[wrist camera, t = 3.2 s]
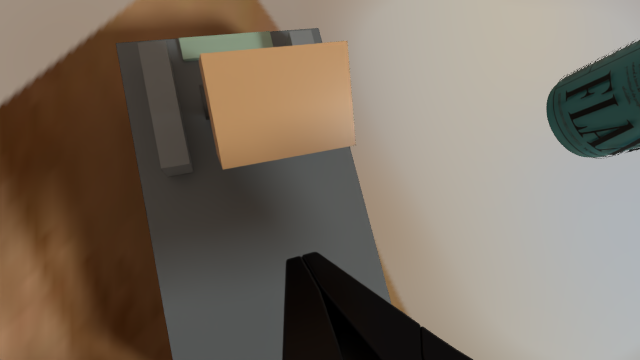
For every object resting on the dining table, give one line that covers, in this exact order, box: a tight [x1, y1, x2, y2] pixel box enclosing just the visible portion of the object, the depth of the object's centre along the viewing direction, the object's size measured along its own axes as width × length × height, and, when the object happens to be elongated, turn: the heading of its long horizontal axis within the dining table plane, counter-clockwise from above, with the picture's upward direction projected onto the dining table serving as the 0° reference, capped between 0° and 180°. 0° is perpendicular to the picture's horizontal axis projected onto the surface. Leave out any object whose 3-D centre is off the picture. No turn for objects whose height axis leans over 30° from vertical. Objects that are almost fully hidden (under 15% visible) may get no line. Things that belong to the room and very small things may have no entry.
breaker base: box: [116, 28, 391, 360], centre depth 17 cm, size 16×9×6 cm, turn 14°
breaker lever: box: [199, 41, 356, 169], centre depth 12 cm, size 2×3×8 cm
